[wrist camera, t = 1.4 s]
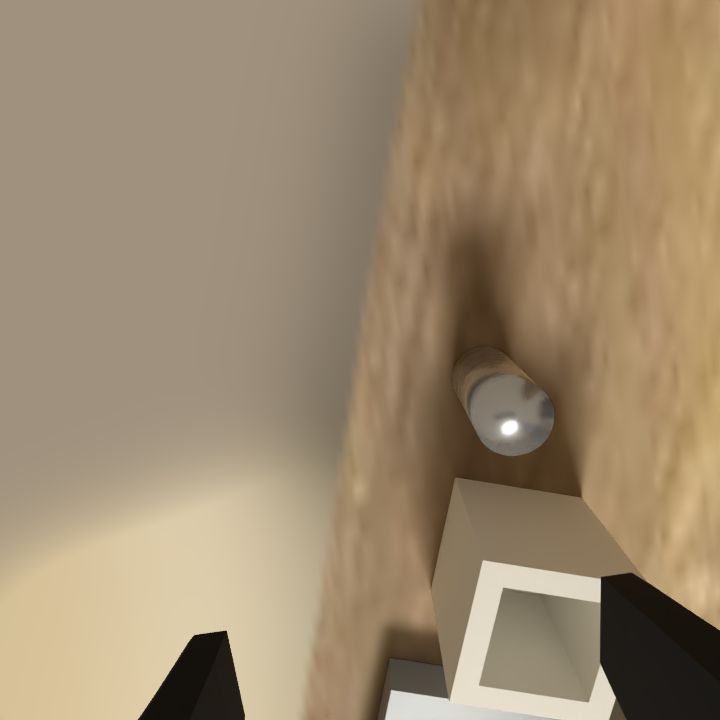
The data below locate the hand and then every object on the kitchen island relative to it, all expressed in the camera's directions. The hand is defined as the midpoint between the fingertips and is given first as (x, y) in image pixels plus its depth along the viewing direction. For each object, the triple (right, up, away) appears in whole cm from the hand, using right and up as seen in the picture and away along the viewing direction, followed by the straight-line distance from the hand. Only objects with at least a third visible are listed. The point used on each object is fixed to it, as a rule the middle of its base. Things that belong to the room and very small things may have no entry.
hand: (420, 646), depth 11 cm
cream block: (+5, -2, +13) cm, 14 cm away
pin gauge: (+4, +5, +11) cm, 13 cm away
